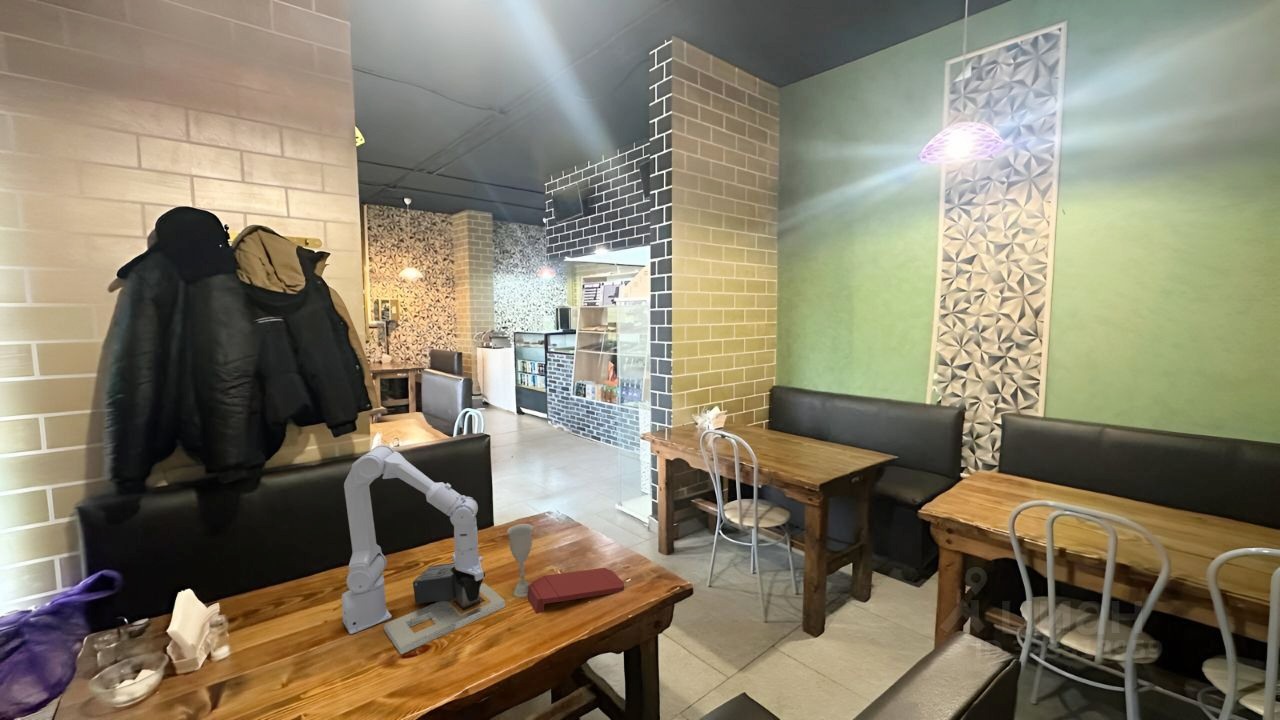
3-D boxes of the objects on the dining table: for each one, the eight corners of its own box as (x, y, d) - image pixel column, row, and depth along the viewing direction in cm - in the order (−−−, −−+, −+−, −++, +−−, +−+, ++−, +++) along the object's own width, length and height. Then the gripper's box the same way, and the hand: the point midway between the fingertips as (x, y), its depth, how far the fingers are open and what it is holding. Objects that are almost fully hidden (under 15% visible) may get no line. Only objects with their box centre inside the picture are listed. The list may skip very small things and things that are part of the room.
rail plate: (400, 654, 111) (400, 646, 111) (384, 630, 120) (384, 623, 120) (505, 606, 129) (504, 599, 129) (484, 589, 138) (484, 582, 138)
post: (463, 613, 125) (462, 587, 125) (456, 606, 129) (454, 581, 128) (480, 606, 128) (479, 580, 128) (472, 599, 132) (471, 574, 131)
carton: (606, 583, 147) (525, 595, 135) (608, 567, 147) (527, 577, 135) (625, 603, 136) (538, 618, 124) (627, 585, 136) (540, 599, 124)
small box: (431, 588, 139) (414, 605, 129) (429, 565, 140) (411, 580, 129) (468, 583, 139) (453, 600, 129) (465, 560, 140) (450, 575, 129)
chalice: (528, 600, 132) (526, 536, 130) (505, 597, 133) (502, 534, 132) (539, 585, 139) (537, 524, 137) (517, 583, 140) (514, 522, 139)
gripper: (493, 550, 125) (496, 601, 126) (469, 532, 135) (471, 579, 136) (467, 560, 120) (469, 612, 121) (443, 541, 130) (446, 589, 132)
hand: (469, 596), depth 128 cm, fingers closed on post, 4 cm apart
